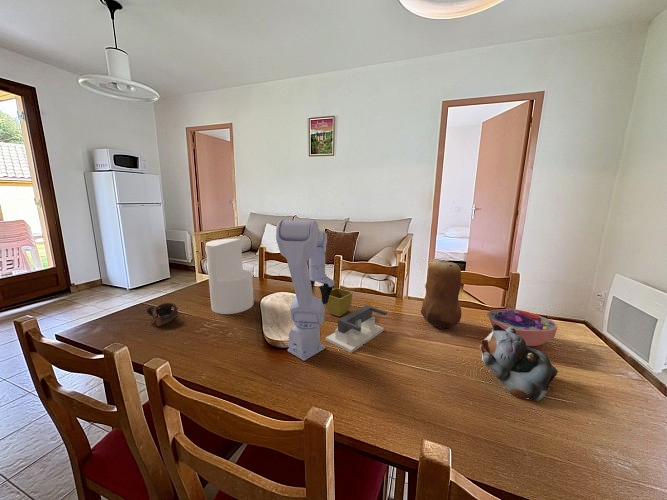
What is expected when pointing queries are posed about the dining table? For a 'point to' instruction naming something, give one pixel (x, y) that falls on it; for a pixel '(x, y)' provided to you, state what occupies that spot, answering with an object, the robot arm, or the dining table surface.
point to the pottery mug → (163, 312)
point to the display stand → (355, 335)
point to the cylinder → (228, 277)
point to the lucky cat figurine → (517, 363)
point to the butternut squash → (442, 294)
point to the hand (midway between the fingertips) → (317, 300)
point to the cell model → (525, 325)
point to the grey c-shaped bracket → (357, 318)
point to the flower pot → (339, 301)
